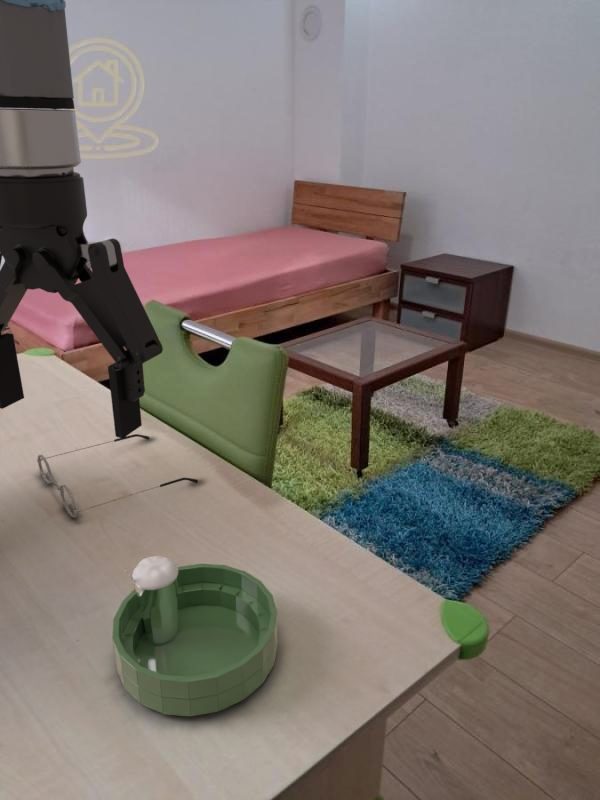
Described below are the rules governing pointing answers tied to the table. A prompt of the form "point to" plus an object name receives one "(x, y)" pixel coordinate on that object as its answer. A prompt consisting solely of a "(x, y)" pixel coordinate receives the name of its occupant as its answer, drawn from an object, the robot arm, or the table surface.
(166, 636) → the milkshake
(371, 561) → the table surface
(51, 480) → the eyeglasses
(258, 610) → the bowl
